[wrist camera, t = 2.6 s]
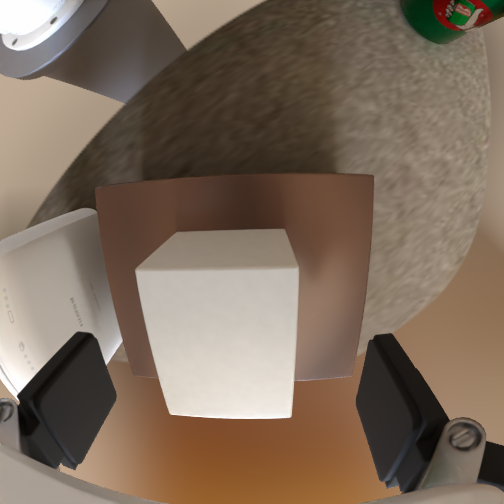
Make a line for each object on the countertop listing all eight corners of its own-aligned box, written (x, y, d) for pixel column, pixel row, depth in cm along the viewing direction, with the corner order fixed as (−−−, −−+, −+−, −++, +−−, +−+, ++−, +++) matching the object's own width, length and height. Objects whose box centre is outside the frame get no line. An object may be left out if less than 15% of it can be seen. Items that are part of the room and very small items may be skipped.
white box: (191, 348, 15) (169, 414, 10) (176, 231, 13) (134, 268, 9) (283, 349, 15) (291, 418, 10) (285, 228, 13) (299, 265, 8)
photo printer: (141, 329, 22) (70, 445, 10) (99, 330, 22) (22, 428, 10) (107, 201, 19) (-27, 252, 7) (64, 212, 19) (-60, 263, 7)
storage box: (159, 328, 22) (133, 375, 16) (139, 179, 19) (94, 187, 13) (332, 326, 21) (352, 376, 16) (340, 170, 18) (374, 175, 12)
